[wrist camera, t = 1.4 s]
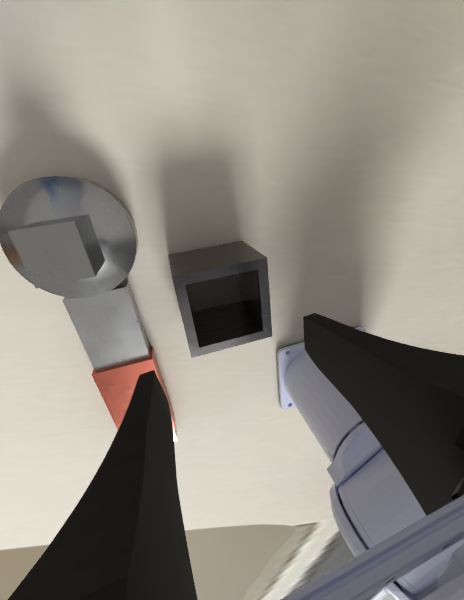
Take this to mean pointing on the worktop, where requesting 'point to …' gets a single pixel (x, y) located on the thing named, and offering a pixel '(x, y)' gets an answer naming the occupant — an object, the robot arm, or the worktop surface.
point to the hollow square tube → (232, 317)
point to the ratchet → (84, 274)
